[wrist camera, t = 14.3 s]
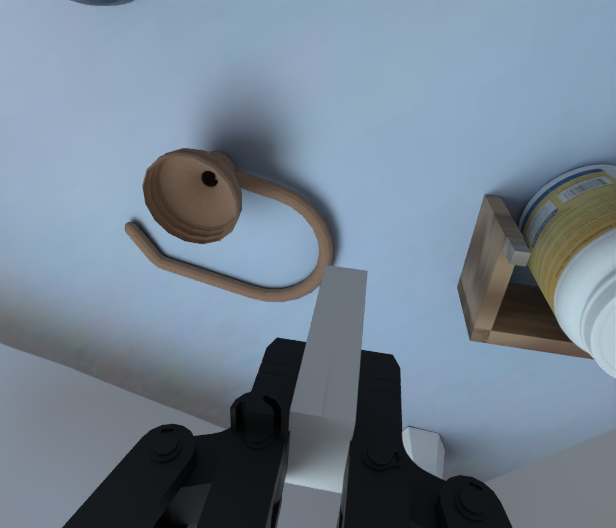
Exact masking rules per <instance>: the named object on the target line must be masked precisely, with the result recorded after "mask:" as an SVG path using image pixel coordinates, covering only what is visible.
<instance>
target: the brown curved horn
mask: <svg viewBox="0 0 616 528" xmlns="http://www.w3.org/2000/svg"><path fill="white" fill-rule="evenodd" d="M142 186H143V192H144V198H145V204H146V206H147V207H148V209H149V211H150V213H151V214H152V216H153V218H154V220H155V221H156V222H157V223H158V224H160V225H161V226H162V227H163V228H164V229H165V230H166V231H167V232H168V233H170V234H172V235H174V236H176V237H178V238H180V239H182V240H184V241H187V242H193V243H199V244H206V243H211V242H216V241H220V240H221V239H223V238H224V237H225V236H227V235H228V234H229V233H231V232H232V231H233V229H234V227H235V225H236V222H237V220H238V218H239V216H240V213H241V211H242V192H241V188H242V189H245V190H248V191H251V192H254V193H257V194H260V195H263V196H266V197H269V198H272V199H275V200H278V201H280V202H282V203H284V204H286V205H288V206H291V207H292V208H293V209H294V210H296V211H297V212H298V213H300V214H301V215H302V216H303V217H304V218H305V219H306V221H307V222H308V223H309V224H310V226H311V227H312V228H313V230H314V233H315V235H316V237H317V239H318V244H319V258H318V263H317V265H316V267H315V269H314V271H313V273H312V274H311V275H310V276H309V277H308V278H307V279H306V280H305V281H303V282H301V283H299V284H297V285H295V286H292V287H288V288H283V289H266V288H262V287H257V286H253V285H250V284H247V283H244V282H241V281H238V280H235V279H232V278H229V277H226V276H223V275H220V274H217V273H214V272H210V271H207V270H204V269H201V268H198V267H195V266H192V265H189V264H186V263H183V262H180V261H177V260H174V259H171V258H168V257H165V256H164V255H162V254H161V253H160V252H159V250H158V249H157V248H156V247H155V246H154V245H153V243H152V242H151V241H150V240H149V239H148V238H147V236H146V235H145V234H144V233H143V232H142V231H141V230H140V229H139V227H138V226H137V225H136V224H134V223H131V222H128V223H126V224H125V231H126V233H127V234H128V236H130V238H131V239H132V240H133V242H134V243H135V244H136V245H137V246H138V247H139V249H140V250H141V251H142V252H143V253H144V254H145V256H146V257H147V258H148V259H149V260H150V261H151V262H152V263H153V264H154V265H155V266H157V267H159V268H161V269H163V270H166V271H169V272H172V273H175V274H179V275H182V276H185V277H188V278H191V279H194V280H197V281H200V282H203V283H206V284H209V285H212V286H215V287H218V288H221V289H224V290H227V291H230V292H233V293H237V294H240V295H243V296H246V297H249V298H252V299H257V300H261V301H266V302H285V301H290V300H294V299H298V298H301V297H303V296H305V295H307V294H309V293H311V292H312V291H313V290H314V289H315V288H317V287H318V286H319V285H320V284H321V280H322V276H323V272H324V268H325V265H329V266H331V265H332V260H333V255H334V250H333V241H332V235H331V233H330V231H329V228H328V226H327V223H326V221H325V219H324V218H323V217H322V215H321V214H320V213H319V211H318V210H317V209H316V208H315V206H314V205H313V204H312V203H310V202H309V201H308V200H306V199H305V198H304V197H303V196H301V195H300V194H299V193H297V192H295V191H293V190H291V189H289V188H286V187H284V186H282V185H280V184H277V183H274V182H271V181H268V180H265V179H262V178H259V177H256V176H253V175H249V174H246V173H243V172H240V171H237V170H235V166H234V164H233V161H232V160H231V159H230V158H229V157H228V156H227V155H225V154H223V153H221V152H211V153H208V152H206V151H202V150H195V149H188V148H182V149H179V150H176V151H172V152H169V153H166V154H165V155H163V156H160V157H159V158H158V159H157V160H156V161H155V162H154V163H153V164H152V165H151V166H150V167H149V168H148V169H147V171H146V174H145V178H144V181H143V185H142Z"/></svg>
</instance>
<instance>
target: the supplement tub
mask: <svg viewBox="0 0 616 528" xmlns="http://www.w3.org/2000/svg"><path fill="white" fill-rule="evenodd" d="M518 228H519V230H520V231H521V233H522V235H523V237H524V238H525V239H524V242H525V243H526V245H527V247H528V249H529V250H530V252H531V254H530V257H529V260H528V262H527V265H528V267H529V269H530V271H531V273H532V274H533V276H534V278H535V280H536V282H537V284H538V286H539V287H540V289H541V291H542V293H543V295H544V297H545V299H546V300H547V302H548V304H549V306H550V308H551V309H552V311H553V313H554V315H555V317H556V319H557V321H558V323H559V325H560V327H561V329H562V330H563V331H564V333H565V334H566V335H567V336H568V337H569V339H570V340H571V341H572V342H573V343H575V344H576V345H577V346H578V347H580V348H581V349H583V350H584V351H586V352H588V353H589V354H590V355H591V356H592V357H593V358H594V359H595V360H596V362H597V363H598V365H599V366H600V367H601V368H602V369H603V370H604V371H605V372H607V373H608V374H609V375H611V376H612V377H614V378H616V166H613V165H604V164H600V165H591V166H585V167H581V168H577V169H574V170H572V171H569V172H567V173H564V174H562V175H560V176H558V177H557V178H555V179H553V180H552V181H550V182H549V183H547V184H546V185H545V186H543V187H542V188H541V189H540V190H539V191H538V192H537V193H536V194H535V195H534V196H533V197H532V199H531V200H530V201H529V203H528V204H527V206H526V207H525V209H524V211H523V213H522V215H521V218H520V221H519V225H518Z"/></svg>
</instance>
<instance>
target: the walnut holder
mask: <svg viewBox="0 0 616 528" xmlns="http://www.w3.org/2000/svg"><path fill="white" fill-rule="evenodd" d="M524 239H525V238H524V237H523V235H522V233H521V231H520V230H519V228H518V226H517V225H516V223H515V221H514V219H513V218H512V216H511V214H510V212H509V211H508V209H507V207H506V205H505V204H504V202H503V200H502V199H501V197H499V196H491V195H484V199H483V202H482V205H481V209H480V212H479V216H478V219H477V222H476V226H475V229H474V232H473V236H472V239H471V243H470V246H469V249H468V253H467V256H466V260H465V263H464V266H463V270H462V273H461V276H460V280H459V283H458V287H457V289H458V293H459V297H460V301H461V305H462V309H463V314H464V318H465V322H466V326H467V330H468V334H469V339H470V341H476V342H483V343H489V344H496V345H502V346H509V347H516V348H522V349H529V350H535V351H542V352H548V353H555V354H562V355H568V356H575V357H581V358H588V359H594V358H593V357H592V356H591V355H590V354H589V353H588V352H586V351H584V350H583V349H581V348H580V347H578V346H577V345H576V344H575V343H573V342H572V341H571V340H570V339H569V337H568V336H567V335H566V334H565V333H564V331H563V330H562V329H561V327H560V325H559V323H558V321H557V319H556V317H555V315H554V313H553V311H552V309H551V308H550V306H549V304H548V302H547V300H546V299H545V297H544V295H543V293H542V291H541V289H540V287H535V286H528V285H521V284H514V283H509V280H510V278H511V275H512V272H513V269H514V267H515V265H518V266H526V265H527V262H528V260H529V257H530V254H531V252H530V250H529V249H528V247H527V245H526V243H525V242H524Z"/></svg>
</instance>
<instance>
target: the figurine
mask: <svg viewBox="0 0 616 528" xmlns="http://www.w3.org/2000/svg"><path fill="white" fill-rule="evenodd" d="M402 439H403V445H404V448H405V450H406V452H407V454H408V455H409V457H410V458H411V459H412V461H413V462H415V463H416V464H417V465H418V466H419V467H420V468H422V469H424V470H425V471H427V472H429V473H431V474H433V475H435V476H437V477H439V478H441V479H442V473H443V464H444V455H445V449H444V446H443V444H442V441H441V438H440V436H439V433H434V432H430V431H425V430H421V429H416V428H412V427H407V428H406V429H405V430H404V431H403V432H402Z"/></svg>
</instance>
